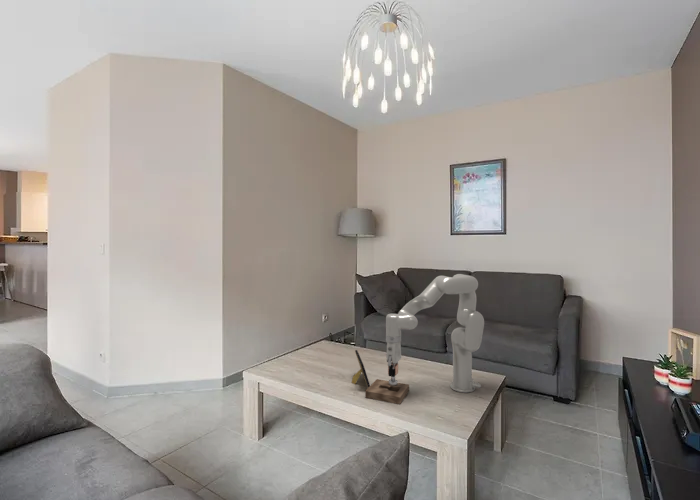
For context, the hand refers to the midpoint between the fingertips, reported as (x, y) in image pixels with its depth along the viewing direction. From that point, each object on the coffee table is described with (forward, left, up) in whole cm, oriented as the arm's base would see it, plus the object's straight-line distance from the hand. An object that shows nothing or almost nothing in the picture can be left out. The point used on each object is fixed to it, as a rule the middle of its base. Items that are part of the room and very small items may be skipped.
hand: (393, 374), depth 177 cm
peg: (0, 0, -5) cm, 5 cm away
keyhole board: (+3, 0, -11) cm, 11 cm away
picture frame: (+22, -8, -11) cm, 26 cm away
